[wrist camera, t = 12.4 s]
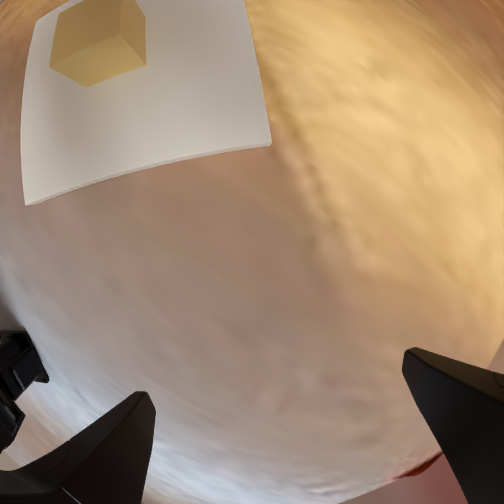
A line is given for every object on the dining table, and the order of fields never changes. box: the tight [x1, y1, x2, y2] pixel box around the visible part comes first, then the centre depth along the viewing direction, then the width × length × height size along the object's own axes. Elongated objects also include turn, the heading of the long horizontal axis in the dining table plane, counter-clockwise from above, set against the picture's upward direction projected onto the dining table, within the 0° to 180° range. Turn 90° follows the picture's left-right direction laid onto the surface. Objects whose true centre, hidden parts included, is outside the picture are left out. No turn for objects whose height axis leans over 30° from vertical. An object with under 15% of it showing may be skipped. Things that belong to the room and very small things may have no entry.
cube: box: [49, 0, 146, 88], centre depth 12 cm, size 5×5×5 cm
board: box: [21, 0, 272, 206], centre depth 15 cm, size 20×20×2 cm
